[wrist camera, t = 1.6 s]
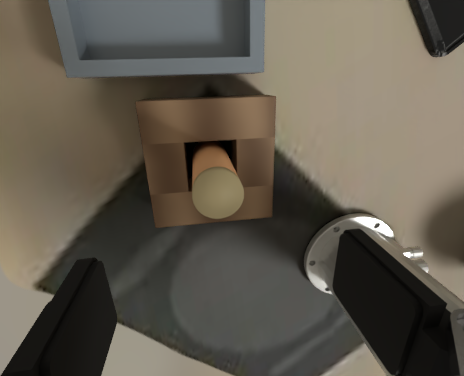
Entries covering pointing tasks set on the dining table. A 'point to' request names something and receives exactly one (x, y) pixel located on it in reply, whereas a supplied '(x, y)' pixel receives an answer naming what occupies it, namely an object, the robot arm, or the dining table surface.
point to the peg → (215, 181)
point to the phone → (440, 24)
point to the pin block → (207, 129)
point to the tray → (159, 37)
